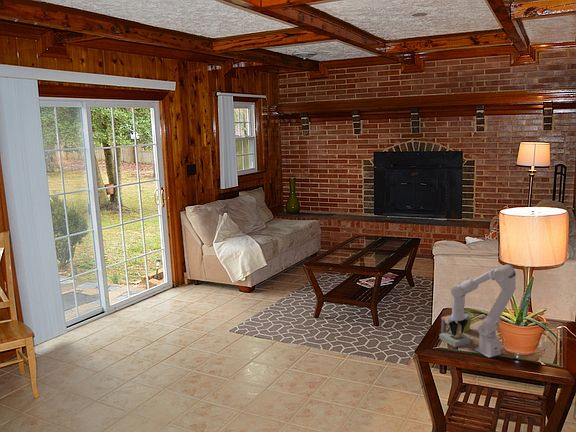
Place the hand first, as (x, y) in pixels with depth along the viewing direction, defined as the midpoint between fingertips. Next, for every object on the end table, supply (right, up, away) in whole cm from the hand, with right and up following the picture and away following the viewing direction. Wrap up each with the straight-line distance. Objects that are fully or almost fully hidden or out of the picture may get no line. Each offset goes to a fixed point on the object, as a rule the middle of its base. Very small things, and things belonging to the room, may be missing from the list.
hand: (457, 334), depth 257 cm
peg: (0, -2, 0) cm, 2 cm away
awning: (-2, -3, +8) cm, 8 cm away
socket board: (-1, -4, +2) cm, 4 cm away
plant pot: (+8, -1, +15) cm, 17 cm away
